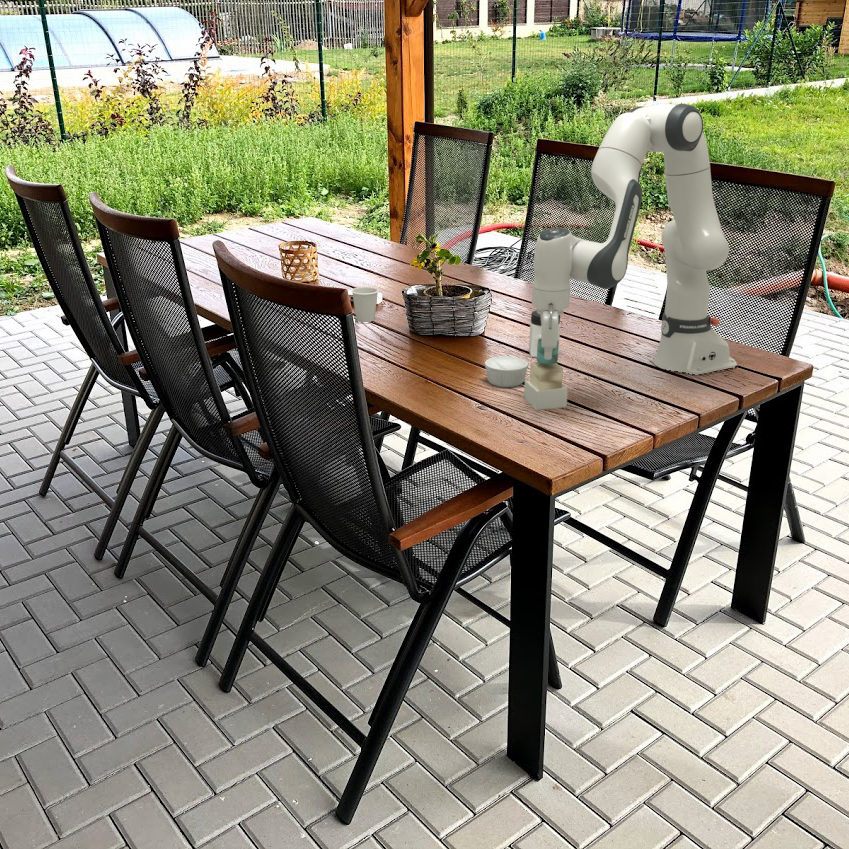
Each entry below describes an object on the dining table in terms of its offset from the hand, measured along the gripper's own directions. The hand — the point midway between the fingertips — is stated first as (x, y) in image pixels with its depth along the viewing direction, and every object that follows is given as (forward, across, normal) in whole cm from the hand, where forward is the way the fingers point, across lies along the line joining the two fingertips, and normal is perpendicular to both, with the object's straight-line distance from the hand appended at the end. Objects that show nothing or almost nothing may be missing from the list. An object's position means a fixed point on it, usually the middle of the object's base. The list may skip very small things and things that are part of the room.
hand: (547, 354), depth 223 cm
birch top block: (+8, 0, 0) cm, 8 cm away
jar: (+13, +38, 0) cm, 40 cm away
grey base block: (+13, 0, 0) cm, 13 cm away
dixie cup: (+13, +64, +56) cm, 86 cm away
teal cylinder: (+2, 0, 0) cm, 2 cm away
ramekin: (+13, +14, +10) cm, 22 cm away
